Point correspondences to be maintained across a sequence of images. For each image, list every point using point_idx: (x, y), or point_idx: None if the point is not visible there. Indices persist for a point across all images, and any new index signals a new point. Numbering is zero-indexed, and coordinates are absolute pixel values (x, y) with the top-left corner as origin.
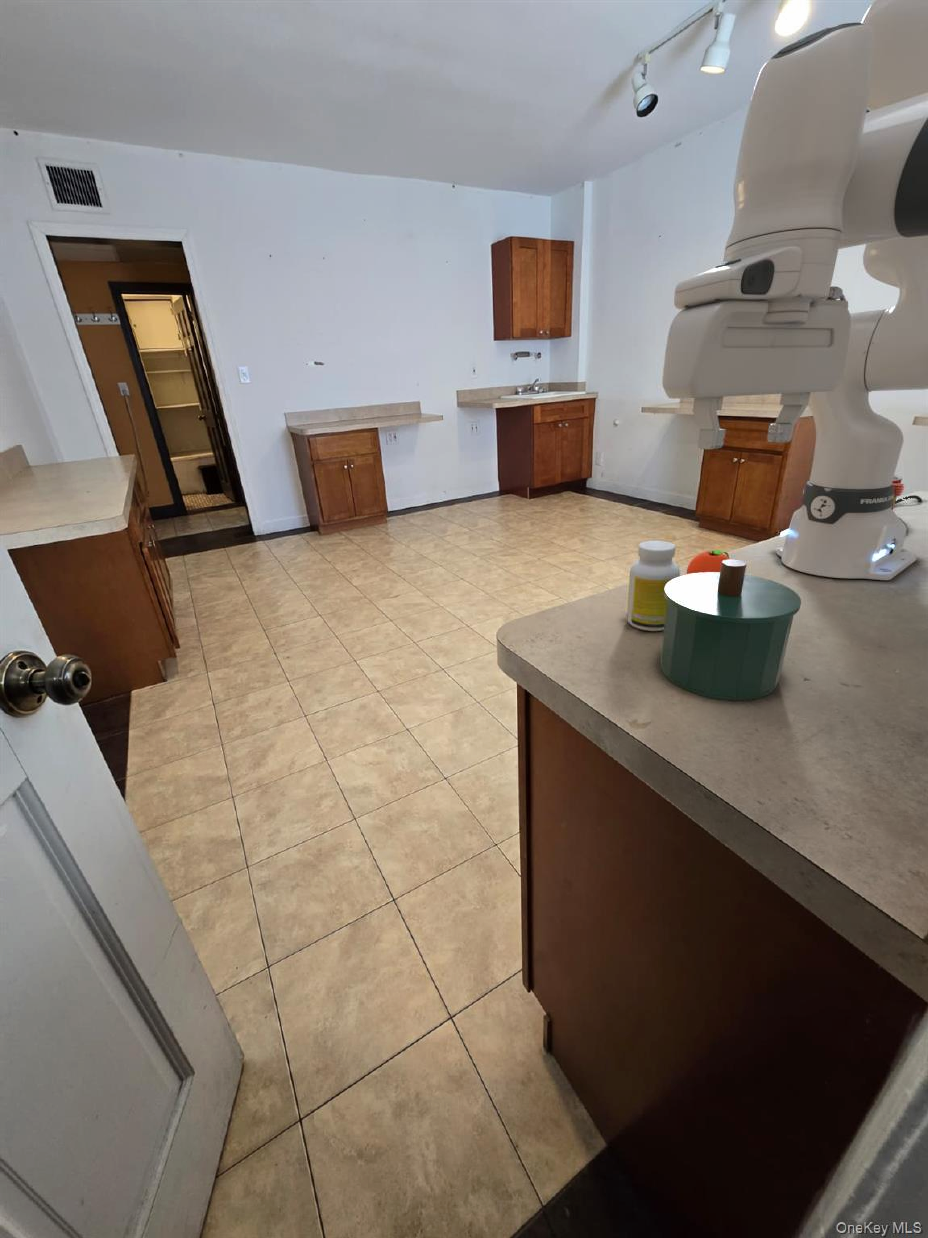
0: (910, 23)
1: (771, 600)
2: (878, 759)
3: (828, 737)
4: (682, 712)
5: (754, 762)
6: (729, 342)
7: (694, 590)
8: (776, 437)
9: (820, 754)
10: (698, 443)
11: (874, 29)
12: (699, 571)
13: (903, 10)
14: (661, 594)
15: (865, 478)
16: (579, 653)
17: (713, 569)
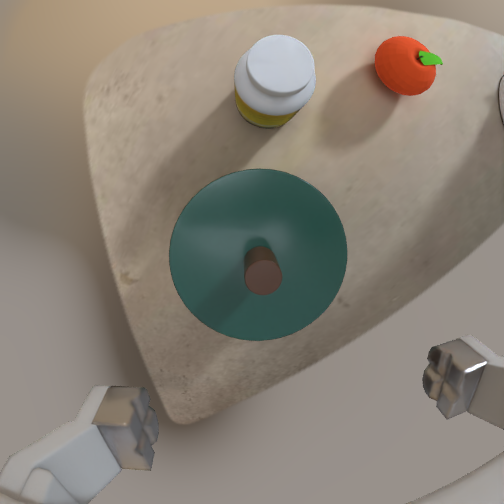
0: None
1: (285, 306)
2: (265, 371)
3: (257, 346)
4: (171, 280)
5: (183, 346)
6: None
7: (221, 233)
8: (430, 380)
9: (234, 357)
10: (92, 390)
11: None
12: (385, 64)
13: None
14: (260, 117)
15: None
16: (138, 137)
17: (400, 78)
